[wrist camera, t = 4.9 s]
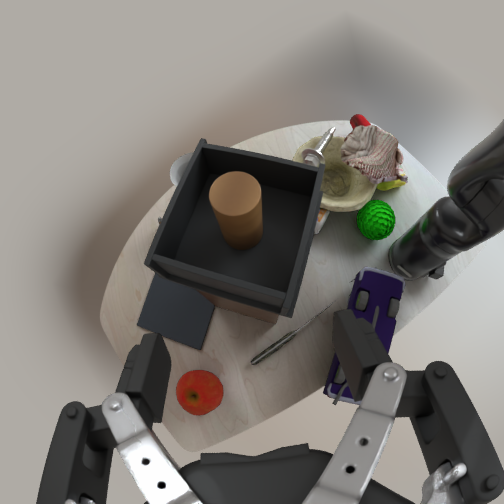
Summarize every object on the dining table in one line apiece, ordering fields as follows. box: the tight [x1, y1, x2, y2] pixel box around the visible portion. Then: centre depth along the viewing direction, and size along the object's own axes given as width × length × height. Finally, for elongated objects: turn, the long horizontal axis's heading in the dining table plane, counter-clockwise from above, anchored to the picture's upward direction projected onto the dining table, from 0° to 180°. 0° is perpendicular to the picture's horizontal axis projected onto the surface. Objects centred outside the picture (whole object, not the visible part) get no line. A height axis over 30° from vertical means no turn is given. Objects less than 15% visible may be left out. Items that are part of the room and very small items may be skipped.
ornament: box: [357, 200, 395, 240], centre depth 55 cm, size 8×8×10 cm
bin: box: [144, 138, 325, 324], centre depth 41 cm, size 14×14×32 cm
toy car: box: [323, 267, 405, 405], centre depth 46 cm, size 10×24×10 cm, turn 161°
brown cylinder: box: [209, 171, 263, 250], centre depth 27 cm, size 4×4×8 cm
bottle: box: [350, 114, 406, 191], centre depth 59 cm, size 12×6×20 cm
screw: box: [301, 127, 335, 168], centre depth 54 cm, size 13×5×5 cm
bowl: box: [292, 136, 377, 212], centre depth 55 cm, size 14×18×15 cm
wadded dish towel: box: [340, 125, 408, 184], centre depth 51 cm, size 15×6×14 cm
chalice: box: [170, 153, 193, 187], centre depth 52 cm, size 7×7×18 cm
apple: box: [176, 370, 223, 415], centre depth 44 cm, size 8×8×11 cm
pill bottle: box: [314, 208, 329, 234], centre depth 57 cm, size 5×5×10 cm
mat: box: [137, 273, 215, 350], centre depth 55 cm, size 14×14×1 cm
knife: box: [251, 301, 335, 365], centre depth 51 cm, size 20×1×3 cm, turn 126°
